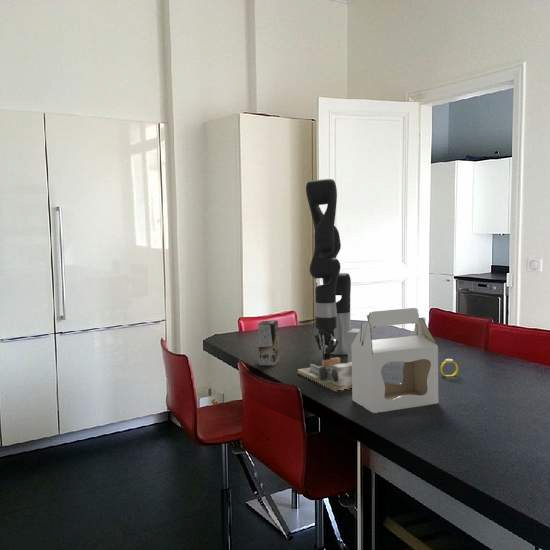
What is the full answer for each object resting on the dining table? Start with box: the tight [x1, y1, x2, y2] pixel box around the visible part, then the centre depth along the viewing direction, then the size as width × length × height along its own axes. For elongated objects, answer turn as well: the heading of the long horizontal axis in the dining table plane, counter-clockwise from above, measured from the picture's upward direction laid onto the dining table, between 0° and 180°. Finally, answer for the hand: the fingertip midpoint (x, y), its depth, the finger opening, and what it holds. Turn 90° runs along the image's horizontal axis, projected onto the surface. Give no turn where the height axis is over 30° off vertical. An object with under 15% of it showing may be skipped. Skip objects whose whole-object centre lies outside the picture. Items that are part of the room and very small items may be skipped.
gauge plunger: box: [318, 356, 341, 372], centre depth 198 cm, size 10×6×5 cm, turn 114°
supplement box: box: [347, 328, 361, 363], centre depth 221 cm, size 7×7×13 cm
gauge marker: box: [319, 367, 327, 379], centre depth 193 cm, size 2×1×4 cm, turn 114°
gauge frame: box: [297, 362, 352, 392], centre depth 199 cm, size 15×26×8 cm, turn 24°
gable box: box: [351, 307, 439, 414], centre depth 171 cm, size 22×13×28 cm, turn 109°
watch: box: [439, 358, 459, 378], centre depth 198 cm, size 6×3×6 cm, turn 94°
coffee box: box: [257, 320, 280, 367], centre depth 225 cm, size 9×6×16 cm
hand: (326, 363), depth 203 cm, fingers closed
